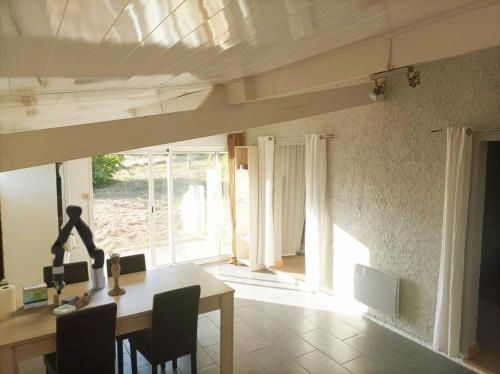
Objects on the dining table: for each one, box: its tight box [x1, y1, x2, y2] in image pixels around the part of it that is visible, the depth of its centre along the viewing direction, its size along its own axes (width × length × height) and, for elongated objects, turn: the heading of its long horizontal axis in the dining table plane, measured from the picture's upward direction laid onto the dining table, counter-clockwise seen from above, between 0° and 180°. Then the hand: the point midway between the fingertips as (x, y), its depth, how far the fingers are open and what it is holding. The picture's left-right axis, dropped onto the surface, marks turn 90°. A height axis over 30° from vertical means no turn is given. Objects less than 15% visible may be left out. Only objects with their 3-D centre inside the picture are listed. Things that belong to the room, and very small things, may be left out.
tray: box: [53, 304, 77, 315], centre depth 255 cm, size 10×10×3 cm
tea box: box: [22, 282, 49, 310], centre depth 266 cm, size 15×10×15 cm
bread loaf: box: [52, 293, 61, 309], centre depth 262 cm, size 4×4×9 cm
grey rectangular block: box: [60, 294, 76, 306], centre depth 271 cm, size 10×7×4 cm
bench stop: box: [73, 291, 91, 310], centre depth 266 cm, size 12×3×8 cm, turn 157°
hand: (59, 294), depth 274 cm, fingers closed
